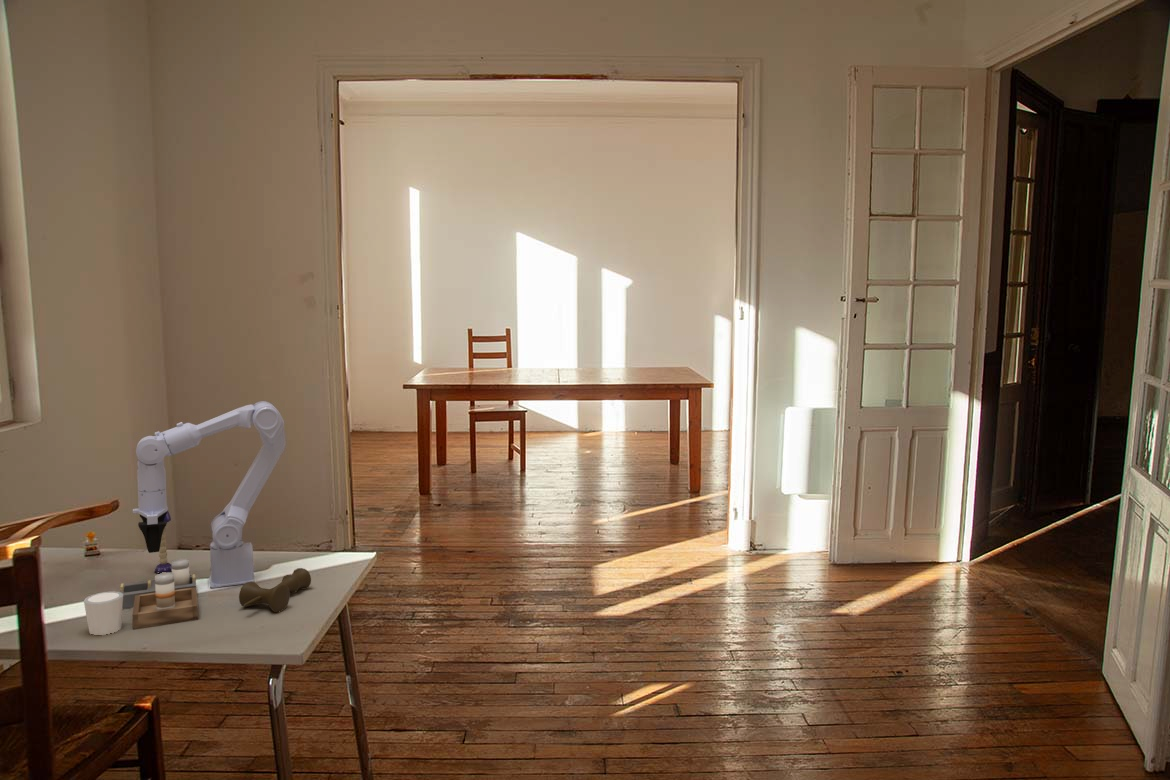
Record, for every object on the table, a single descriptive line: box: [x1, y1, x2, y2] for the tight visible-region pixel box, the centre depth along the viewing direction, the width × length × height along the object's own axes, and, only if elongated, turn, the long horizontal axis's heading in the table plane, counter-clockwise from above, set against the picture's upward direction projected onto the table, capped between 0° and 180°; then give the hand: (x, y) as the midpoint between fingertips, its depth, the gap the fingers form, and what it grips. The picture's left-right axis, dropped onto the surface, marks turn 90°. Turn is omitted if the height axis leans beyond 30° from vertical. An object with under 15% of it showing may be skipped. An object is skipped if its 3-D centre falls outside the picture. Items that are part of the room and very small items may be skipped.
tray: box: [132, 586, 199, 630], centre depth 172 cm, size 12×12×3 cm
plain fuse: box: [170, 557, 191, 586], centre depth 182 cm, size 4×4×8 cm
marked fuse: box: [154, 572, 175, 610], centre depth 171 cm, size 4×4×8 cm
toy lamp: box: [154, 510, 172, 573], centre depth 197 cm, size 5×5×17 cm
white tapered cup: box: [83, 591, 123, 636], centre depth 163 cm, size 7×7×7 cm
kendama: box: [238, 567, 312, 613], centre depth 179 cm, size 6×10×20 cm
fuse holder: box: [119, 573, 197, 610], centre depth 181 cm, size 15×8×4 cm, turn 117°
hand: (154, 547), depth 184 cm, fingers open, 7 cm apart
